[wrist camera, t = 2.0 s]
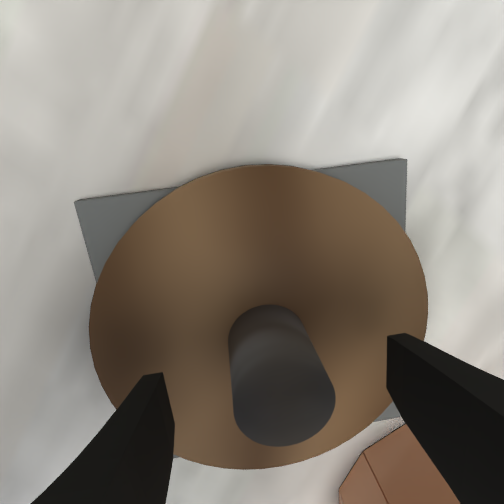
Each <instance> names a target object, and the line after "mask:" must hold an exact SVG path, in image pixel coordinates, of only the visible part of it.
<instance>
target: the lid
mask: <svg viewBox="0 0 504 504" xmlns="http://www.w3.org/2000/svg"><path fill="white" fill-rule="evenodd" d="M427 318H428V294H427V288H426V282H425V276H424V273H423V269H422V266H421V263H420V260H419V257H418V255H417V253H416V251H415V249H414V247H413V245H412V243H411V241H410V239H409V237H408V236H407V235H406V233H405V232H404V230H403V229H402V228H401V226H400V225H399V223H398V222H397V221H396V220H395V219H394V218H393V217H392V216H391V215H390V214H389V213H388V211H387V210H386V209H385V208H384V207H383V206H381V205H380V204H379V203H377V202H376V201H375V200H374V199H372V198H371V197H370V196H368V195H367V194H366V193H364V192H362V191H361V190H359V189H357V188H355V187H353V186H352V185H350V184H348V183H346V182H344V181H341V180H339V179H336V178H333V177H331V176H328V175H325V174H323V173H319V172H316V171H312V170H307V169H303V168H298V167H294V166H285V165H273V164H262V165H244V166H239V167H234V168H229V169H224V170H220V171H217V172H214V173H211V174H208V175H205V176H202V177H199V178H197V179H195V180H192V181H190V182H188V183H186V184H184V185H182V186H180V187H178V188H176V189H175V190H173V191H172V192H171V193H169V194H168V195H166V196H165V197H163V198H162V199H160V200H159V201H157V202H156V203H155V204H154V205H153V206H152V207H151V208H149V209H148V210H147V211H146V212H145V213H144V214H143V215H142V216H141V217H139V218H138V220H137V221H136V222H135V223H134V224H133V225H132V226H131V227H130V228H129V230H128V231H127V232H126V233H125V234H124V236H123V237H122V238H121V239H120V240H119V242H118V243H117V245H116V246H115V248H114V249H113V251H112V253H111V254H110V256H109V258H108V259H107V261H106V263H105V265H104V267H103V269H102V272H101V274H100V277H99V279H98V281H97V284H96V287H95V291H94V295H93V299H92V303H91V310H90V321H89V336H90V349H91V354H92V358H93V362H94V367H95V370H96V372H97V375H98V377H99V380H100V383H101V385H102V387H103V389H104V391H105V392H106V394H107V396H108V398H109V399H110V401H111V403H112V404H113V405H114V407H115V408H116V409H118V407H119V406H120V405H121V403H122V402H123V401H124V399H125V398H126V397H127V395H128V394H129V393H130V391H131V390H132V389H133V387H134V386H135V385H136V383H137V382H138V381H139V380H140V378H141V377H142V376H143V375H147V374H154V373H160V372H163V375H164V379H165V384H166V388H167V392H168V396H169V400H170V405H171V409H172V413H173V417H174V422H175V435H174V452H173V454H174V455H177V456H179V457H182V458H184V459H187V460H190V461H193V462H197V463H200V464H204V465H208V466H214V467H220V468H228V469H265V468H272V467H279V466H284V465H289V464H293V463H297V462H301V461H304V460H307V459H310V458H312V457H315V456H318V455H320V454H323V453H325V452H327V451H329V450H331V449H333V448H336V447H337V446H339V445H341V444H342V443H344V442H346V441H348V440H349V439H351V438H353V437H354V436H355V435H357V434H358V433H359V432H361V431H362V430H364V429H365V428H366V427H368V426H369V425H370V424H371V423H372V422H373V421H374V420H375V419H376V418H378V417H379V416H380V415H381V414H382V413H383V412H384V411H385V409H386V408H387V407H388V406H389V405H390V404H391V403H392V402H393V400H392V398H391V396H390V394H389V392H388V390H387V388H386V370H387V336H388V335H394V334H401V333H407V334H409V335H412V336H414V337H416V338H418V339H420V340H422V341H424V337H425V333H426V326H427Z"/></svg>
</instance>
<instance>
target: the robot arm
mask: <svg viewBox="0 0 504 504" xmlns="http://www.w3.org/2000/svg"><path fill="white" fill-rule="evenodd" d="M386 388H387V390H388V392H389V394H390V396H391V398H392V400H393V402H394V404H395V406H396V408H397V410H398V411H399V413H400V415H401V417H402V418H403V420H404V421H405V423H406V424H407V426H408V427H409V429H410V430H411V432H412V433H413V435H414V436H415V438H416V439H417V441H418V442H419V443H420V445H421V446H422V448H423V449H424V451H425V452H426V453H427V455H428V456H429V458H430V459H431V461H432V462H433V464H434V465H435V466H436V468H437V469H438V471H439V472H440V474H441V475H442V477H443V478H444V479H445V481H446V482H447V484H448V485H449V487H450V488H451V490H452V491H453V493H454V494H455V496H456V498H457V499H458V501H459V502H460V504H504V380H503V379H500V378H498V377H496V376H494V375H491V374H489V373H487V372H485V371H483V370H480V369H478V368H476V367H474V366H472V365H470V364H468V363H466V362H464V361H462V360H460V359H458V358H456V357H454V356H452V355H450V354H448V353H446V352H444V351H442V350H440V349H438V348H436V347H434V346H432V345H430V344H428V343H426V342H424V341H422V340H420V339H418V338H416V337H414V336H412V335H409V334H407V333H401V334H394V335H388V336H387V370H386ZM174 435H175V422H174V417H173V413H172V409H171V405H170V400H169V396H168V392H167V388H166V384H165V379H164V375H163V372H160V373H154V374H147V375H143V376H142V377H141V378H140V380H139V381H138V382H137V383H136V385H135V386H134V387H133V389H132V390H131V391H130V393H129V394H128V395H127V397H126V398H125V399H124V401H123V402H122V403H121V405H120V406H119V407H118V409H117V410H116V411H115V412H114V414H113V415H112V416H111V417H110V419H109V420H108V421H107V422H106V424H105V425H104V426H103V428H102V429H101V430H100V431H99V432H98V434H97V435H96V436H95V437H94V438H93V439H92V441H91V442H90V443H89V444H88V445H87V446H86V448H85V449H84V450H83V451H82V452H81V453H80V455H79V456H78V457H77V458H76V459H75V460H74V461H73V462H72V463H71V464H70V465H69V466H68V468H67V469H66V470H65V471H64V472H63V473H62V474H61V475H60V476H59V477H58V478H57V479H56V480H55V481H54V482H53V483H52V484H51V485H50V486H49V487H48V488H47V489H46V490H45V491H44V492H43V493H42V494H41V495H40V496H39V497H38V498H36V499H35V500H34V501H33V502H32V503H31V504H165V503H166V497H167V492H168V486H169V480H170V474H171V468H172V462H173V452H174Z"/></svg>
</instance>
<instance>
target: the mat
mask: <svg viewBox="0 0 504 504" xmlns="http://www.w3.org/2000/svg"><path fill="white" fill-rule="evenodd" d="M312 171H316V172H319V173H323V174H325V175H328V176H331V177H333V178H336V179H339V180H341V181H344V182H346V183H348V184H350V185H352V186H353V187H355V188H357V189H359V190H361V191H362V192H364V193H366V194H367V195H368V196H370V197H371V198H372V199H374V200H375V201H376V202H377V203H379V204H380V205H381V206H383V207H384V208H385V209H386V210H387V211H388V213H389V214H390V215H391V216H392V217H393V218H394V219H395V220H396V221H397V222H398V223H399V225H400V226H401V228H402V229H403V230H404V232H405V220H406V184H407V159H393V160H385V161H377V162H369V163H361V164H354V165H346V166H338V167H330V168H322V169H315V170H312ZM176 188H178V187H174V188H167V189H159V190H151V191H143V192H136V193H128V194H120V195H112V196H104V197H97V198H89V199H81V200H77V201H75V202H74V204H75V208H76V211H77V215H78V218H79V222H80V226H81V229H82V233H83V236H84V240H85V244H86V247H87V251H88V254H89V258H90V261H91V265H92V269H93V272H94V276H95V279H96V283H97V281H98V279H99V277H100V274H101V272H102V269H103V267H104V265H105V263H106V261H107V259H108V258H109V256H110V254H111V253H112V251H113V249H114V248H115V246H116V245H117V243H118V242H119V240H120V239H121V238H122V237H123V236H124V234H125V233H126V232H127V231H128V230H129V228H130V227H131V226H132V225H133V224H134V223H135V222H136V221H137V220H138V218H139V217H141V216H142V215H143V214H144V213H145V212H146V211H147V210H148V209H149V208H151V207H152V206H153V205H154V204H155V203H156V202H157V201H159V200H160V199H162V198H163V197H165V196H166V195H168V194H169V193H171V192H172V191H173V190H175V189H176ZM398 417H400V413H399V411H398V410H397V408H396V406H395V404H394V402H392V403H391V404H390V405H389V406H388V407H387V408H386V409H385V411H384V412H383V413H382V414H381V415H380V416H379V417H378V418H376V419H375V420H374V421H373V422H376V421H381V420H387V419H392V418H398ZM177 457H179V456H177V455H174V454H173V458H177Z"/></svg>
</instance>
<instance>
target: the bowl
mask: <svg viewBox="0 0 504 504" xmlns="http://www.w3.org/2000/svg"><path fill="white" fill-rule="evenodd" d="M339 504H460V502H459V501H458V499H457V498H456V496H455V494H454V493H453V491H452V490H451V488H450V487H449V485H448V484H447V482H446V481H445V479H444V478H443V477H442V475H441V474H440V472H439V471H438V469H437V468H436V466H435V465H434V464H433V462H432V461H431V459H430V458H429V456H428V455H427V453H426V452H425V451H424V449H423V448H422V446H421V445H420V443H419V442H418V441H417V439H416V438H415V436H414V435H413V433H412V432H411V430H410V429H409V427H408V426H407V424H405V425H403V426H402V427H400V428H399V429H397V430H395V431H394V432H392V433H391V434H389V435H388V436H386V437H385V438H383V439H382V440H380V441H378V442H377V443H375V444H374V445H372V446H371V447H369V448H368V449H366V450H364V453H363V452H362V454H361V455H360V457H359V458H358V460H357V462H356V463H355V465H354V466H353V468H352V469H351V471H350V473H349V474H348V476H347V477H346V479H345V481H344V482H343V484H342V485H341V487H340V488H339Z"/></svg>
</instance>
